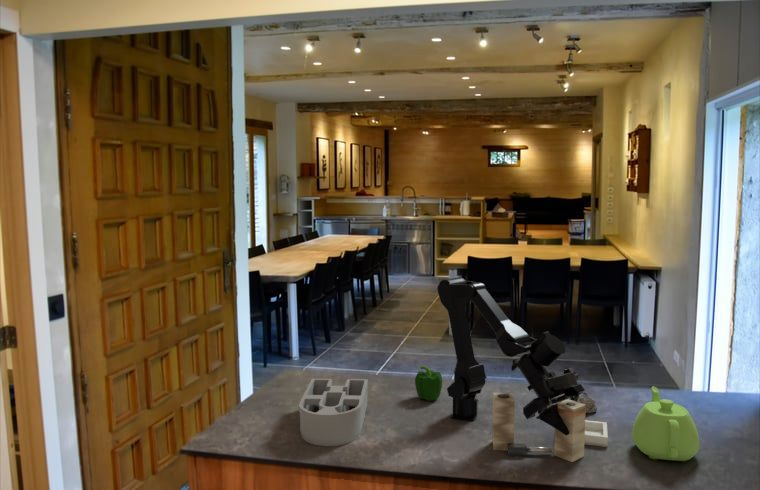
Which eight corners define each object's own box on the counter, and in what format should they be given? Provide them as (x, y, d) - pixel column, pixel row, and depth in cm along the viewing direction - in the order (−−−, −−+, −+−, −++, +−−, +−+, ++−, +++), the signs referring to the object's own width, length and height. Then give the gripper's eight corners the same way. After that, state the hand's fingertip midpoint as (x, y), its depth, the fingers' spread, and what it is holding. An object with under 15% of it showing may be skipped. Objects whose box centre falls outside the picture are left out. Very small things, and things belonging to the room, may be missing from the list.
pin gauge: (508, 455, 154) (508, 447, 154) (507, 451, 156) (507, 443, 156) (552, 456, 153) (552, 447, 153) (550, 452, 156) (550, 443, 155)
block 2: (553, 455, 154) (555, 403, 153) (566, 449, 157) (567, 398, 156) (572, 462, 150) (573, 409, 149) (584, 456, 153) (586, 404, 152)
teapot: (622, 430, 168) (624, 383, 167) (683, 434, 166) (685, 386, 164) (640, 468, 147) (642, 414, 145) (710, 473, 144) (713, 418, 143)
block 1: (493, 449, 157) (493, 399, 156) (492, 441, 162) (493, 392, 161) (513, 450, 157) (514, 400, 155) (512, 442, 162) (513, 393, 160)
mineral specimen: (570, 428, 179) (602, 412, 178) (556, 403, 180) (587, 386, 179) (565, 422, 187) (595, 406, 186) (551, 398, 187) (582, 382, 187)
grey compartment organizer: (368, 407, 188) (367, 379, 187) (359, 448, 160) (359, 415, 159) (312, 406, 189) (311, 378, 188) (294, 447, 161) (293, 414, 160)
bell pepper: (448, 397, 194) (448, 366, 193) (432, 405, 188) (432, 372, 187) (426, 391, 200) (426, 360, 199) (410, 398, 194) (409, 367, 193)
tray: (557, 441, 162) (558, 431, 162) (559, 426, 172) (559, 417, 171) (607, 446, 158) (607, 437, 158) (606, 431, 168) (606, 422, 168)
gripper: (533, 366, 148) (573, 425, 141) (579, 351, 160) (618, 405, 153) (506, 390, 155) (543, 448, 148) (552, 374, 167) (588, 427, 160)
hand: (574, 431), depth 152 cm, fingers closed on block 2, 5 cm apart
